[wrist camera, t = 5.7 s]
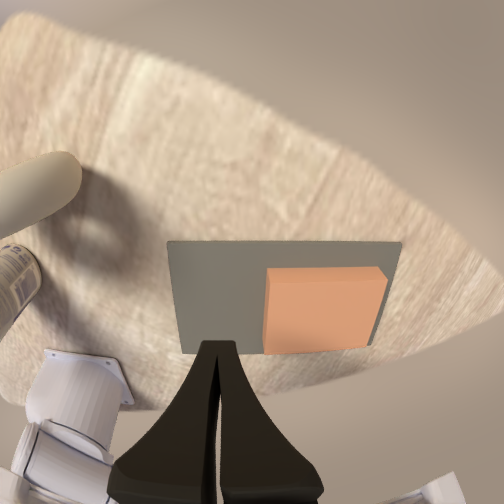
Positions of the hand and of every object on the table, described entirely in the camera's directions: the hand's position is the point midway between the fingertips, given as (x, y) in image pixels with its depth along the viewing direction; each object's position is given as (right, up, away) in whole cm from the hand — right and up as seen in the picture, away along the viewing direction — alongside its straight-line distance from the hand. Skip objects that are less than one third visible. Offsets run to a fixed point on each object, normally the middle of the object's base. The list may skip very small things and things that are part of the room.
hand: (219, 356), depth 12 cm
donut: (-13, +10, +6) cm, 18 cm away
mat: (+4, 0, +12) cm, 13 cm away
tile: (+2, 0, +10) cm, 11 cm away
